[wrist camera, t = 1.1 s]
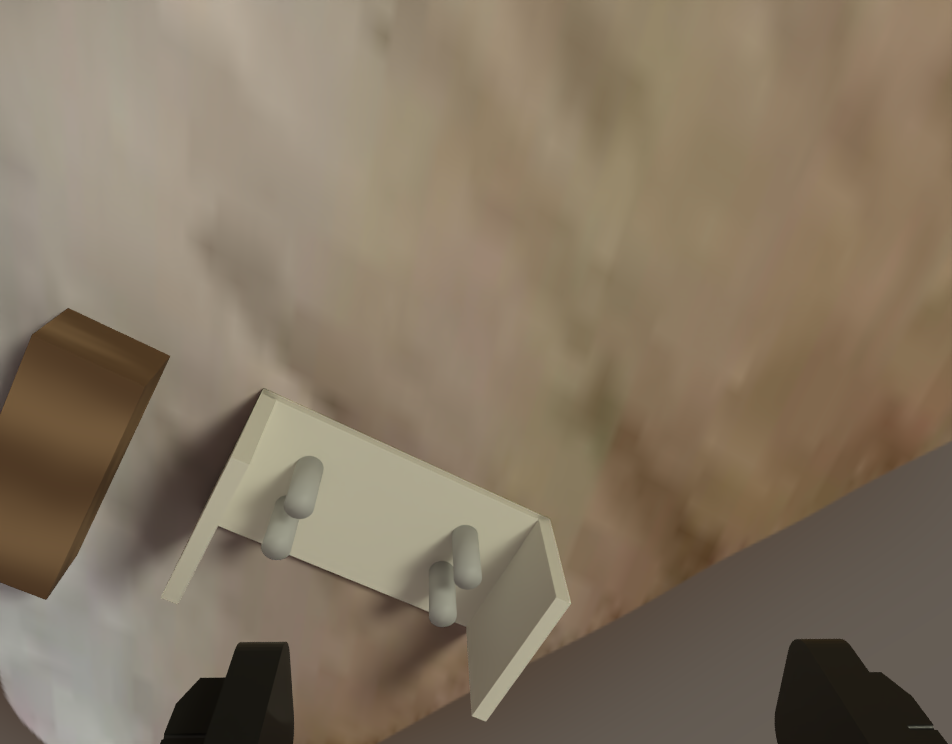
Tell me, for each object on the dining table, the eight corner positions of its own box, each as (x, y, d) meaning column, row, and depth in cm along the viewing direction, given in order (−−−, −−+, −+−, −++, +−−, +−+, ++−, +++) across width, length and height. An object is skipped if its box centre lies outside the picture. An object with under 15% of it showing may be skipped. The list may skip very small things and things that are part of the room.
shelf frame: (202, 511, 42) (160, 598, 35) (263, 388, 39) (230, 456, 33) (477, 624, 46) (485, 721, 39) (549, 519, 43) (571, 603, 37)
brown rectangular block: (79, 551, 43) (46, 600, 39) (-15, 513, 42) (-58, 560, 38) (172, 353, 39) (145, 386, 35) (71, 305, 38) (32, 334, 34)
